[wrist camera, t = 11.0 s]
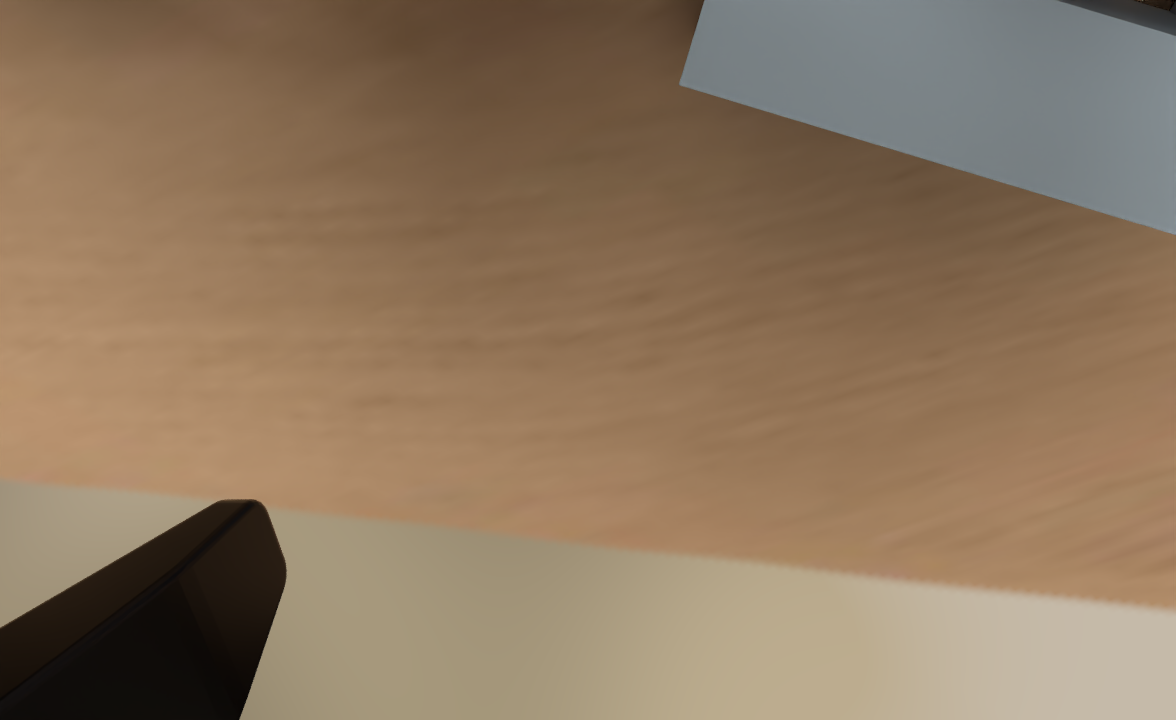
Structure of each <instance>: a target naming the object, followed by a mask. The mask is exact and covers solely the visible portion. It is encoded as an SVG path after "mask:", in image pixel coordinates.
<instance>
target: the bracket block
mask: <svg viewBox="0 0 1176 720" xmlns="http://www.w3.org/2000/svg"><path fill="white" fill-rule="evenodd" d="M679 85H680V86H684V87H687V88H690V89H694V90H697V91H700V92H704V93H707V94H710V95H713V96H717V97H720V98H723V99H727V100H730V101H733V102H737V103H740V104H743V105H747V106H750V107H753V108H757V109H760V110H763V111H767V112H770V113H773V114H776V115H780V116H783V117H786V118H790V119H793V120H796V121H800V122H803V123H806V124H810V125H813V126H816V127H820V128H823V129H826V130H829V131H833V132H836V133H839V134H843V135H846V136H849V137H853V138H856V139H859V140H863V141H866V142H869V143H873V144H876V145H879V146H882V147H886V148H889V149H892V150H896V151H899V152H902V153H906V154H909V155H912V156H916V157H919V158H922V159H926V160H929V161H932V162H935V163H939V164H942V165H945V166H949V167H952V168H955V169H959V170H962V171H965V172H969V173H972V174H975V175H979V176H982V177H985V178H988V179H992V180H995V181H998V182H1002V183H1005V184H1008V185H1012V186H1015V187H1018V188H1022V189H1025V190H1028V191H1032V192H1035V193H1038V194H1042V195H1045V196H1048V197H1051V198H1055V199H1058V200H1061V201H1065V202H1068V203H1071V204H1075V205H1078V206H1081V207H1085V208H1088V209H1091V210H1095V211H1098V212H1101V213H1104V214H1108V215H1111V216H1114V217H1118V218H1121V219H1124V220H1128V221H1131V222H1134V223H1138V224H1141V225H1144V226H1148V227H1151V228H1154V229H1157V230H1161V231H1164V232H1167V233H1171V234H1174V235H1176V1H1175V3H1174V5H1173V6H1172V8H1171V10H1170V11H1167V10H1164V9H1160V8H1157V7H1154V6H1150V5H1147V4H1144V3H1140V2H1137V1H1134V0H704V4H703V7H702V10H701V14H700V17H699V20H698V24H697V27H696V30H695V33H694V37H693V40H692V43H691V47H690V50H689V53H688V56H687V60H686V63H685V66H684V70H683V73H682V76H681V80H680V83H679Z"/></svg>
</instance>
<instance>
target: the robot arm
mask: <svg viewBox="0 0 1176 720" xmlns="http://www.w3.org/2000/svg"><path fill="white" fill-rule="evenodd" d="M285 582H286V563H285V559H284V556H283V554H282V550H281V548H280V545H279V542H278V539H277V536H276V534H275V531H274V528H273V525H272V522H271V520H270V517H269V514H268V512H267V510H266V508H265V506H264V505H263V504H262V503H261V502H259V501H257V500H253V499H231V500H221V501H218V502H216V503H214V504H212V505H210V506H209V507H207V508H205V509H203V510H202V511H200V512H198V513H197V514H195V515H193V516H191V517H190V518H188V519H186V520H185V521H183V522H181V523H179V524H178V525H176V526H174V527H173V528H171V529H169V530H168V531H166V532H164V533H162V534H161V535H159V536H157V537H155V538H154V539H152V540H150V541H148V542H147V543H145V544H143V545H142V546H140V547H138V548H136V549H135V550H133V551H131V552H130V553H128V554H126V555H124V556H123V557H121V558H119V559H118V560H116V561H114V562H113V563H111V564H109V565H108V566H106V567H104V568H102V569H101V570H99V571H97V572H96V573H93V574H92V575H90V576H89V577H87V578H85V579H83V580H82V581H80V582H78V583H76V584H75V585H73V586H71V587H70V588H68V589H66V590H65V591H63V592H61V593H59V594H58V595H56V596H54V597H53V598H51V599H49V600H47V601H45V602H44V603H42V604H40V605H39V606H37V607H35V608H33V609H32V610H30V611H28V612H26V613H25V614H23V615H22V616H20V617H18V618H17V619H14V620H13V621H11V622H9V623H8V624H6V625H4V626H2V627H1V628H0V720H239V719H240V716H241V714H242V711H243V708H244V705H245V703H246V700H247V697H248V694H249V692H250V689H251V686H252V682H253V680H254V677H255V674H256V671H257V668H258V665H259V662H260V659H261V656H262V653H263V650H264V647H265V644H266V641H267V638H268V635H269V632H270V629H271V626H272V623H273V620H274V617H275V614H276V611H277V608H278V605H279V602H280V599H281V596H282V593H283V590H284V587H285Z"/></svg>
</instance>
